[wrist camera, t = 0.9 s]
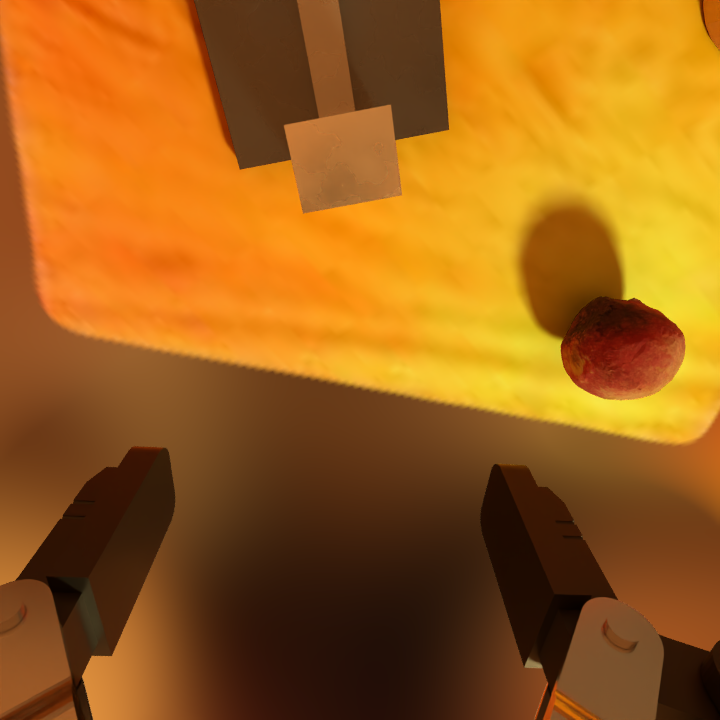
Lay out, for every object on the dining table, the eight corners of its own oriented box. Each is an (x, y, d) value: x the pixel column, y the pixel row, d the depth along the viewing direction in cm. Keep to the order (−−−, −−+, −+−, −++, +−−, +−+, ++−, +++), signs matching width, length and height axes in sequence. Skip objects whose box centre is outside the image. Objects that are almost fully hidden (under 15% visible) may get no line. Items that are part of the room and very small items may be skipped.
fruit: (565, 382, 41) (612, 437, 34) (530, 316, 38) (574, 361, 31) (650, 337, 40) (718, 385, 33) (620, 264, 37) (688, 299, 29)
